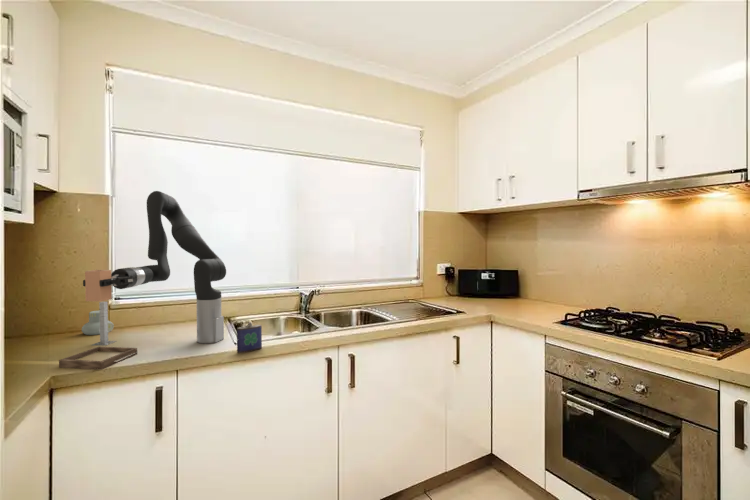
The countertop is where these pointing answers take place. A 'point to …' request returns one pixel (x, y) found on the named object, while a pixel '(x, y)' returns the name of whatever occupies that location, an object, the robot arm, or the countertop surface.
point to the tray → (86, 364)
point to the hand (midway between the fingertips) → (92, 283)
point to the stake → (103, 325)
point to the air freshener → (94, 324)
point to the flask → (249, 338)
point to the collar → (97, 285)
